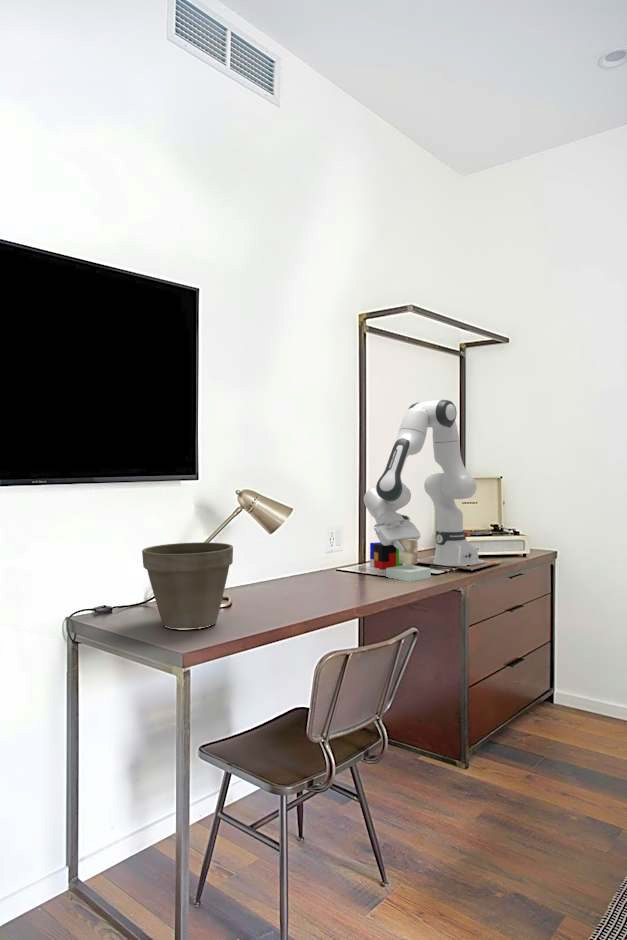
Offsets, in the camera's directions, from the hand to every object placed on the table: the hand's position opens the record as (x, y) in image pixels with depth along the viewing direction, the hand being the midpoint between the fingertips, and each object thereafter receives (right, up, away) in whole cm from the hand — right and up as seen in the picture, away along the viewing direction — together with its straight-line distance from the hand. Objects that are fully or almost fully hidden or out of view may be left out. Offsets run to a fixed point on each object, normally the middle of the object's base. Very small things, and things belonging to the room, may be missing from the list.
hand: (409, 550), depth 261 cm
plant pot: (-71, -12, -71) cm, 101 cm away
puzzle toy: (-6, -10, +25) cm, 28 cm away
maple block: (0, -5, 0) cm, 5 cm away
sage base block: (0, -11, +1) cm, 11 cm away
